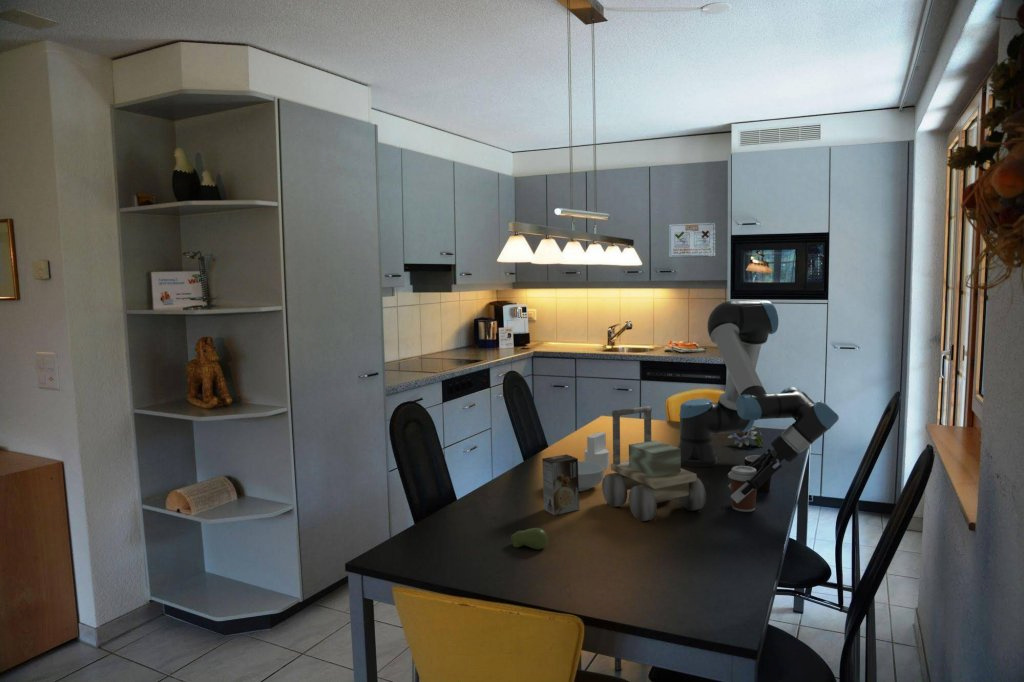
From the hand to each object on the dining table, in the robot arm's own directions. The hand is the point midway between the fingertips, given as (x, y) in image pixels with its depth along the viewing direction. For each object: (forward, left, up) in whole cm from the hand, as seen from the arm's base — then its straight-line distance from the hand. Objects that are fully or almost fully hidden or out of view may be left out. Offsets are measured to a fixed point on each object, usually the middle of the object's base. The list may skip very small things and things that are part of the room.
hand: (732, 494), depth 201 cm
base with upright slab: (-58, -11, -4) cm, 59 cm away
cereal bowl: (-40, -30, -4) cm, 50 cm away
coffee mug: (-10, +21, -4) cm, 24 cm away
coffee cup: (+2, +2, -4) cm, 5 cm away
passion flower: (-53, +58, -4) cm, 79 cm away
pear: (-4, -67, -4) cm, 67 cm away
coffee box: (-24, -46, -4) cm, 52 cm away
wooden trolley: (-12, -21, -4) cm, 24 cm away
